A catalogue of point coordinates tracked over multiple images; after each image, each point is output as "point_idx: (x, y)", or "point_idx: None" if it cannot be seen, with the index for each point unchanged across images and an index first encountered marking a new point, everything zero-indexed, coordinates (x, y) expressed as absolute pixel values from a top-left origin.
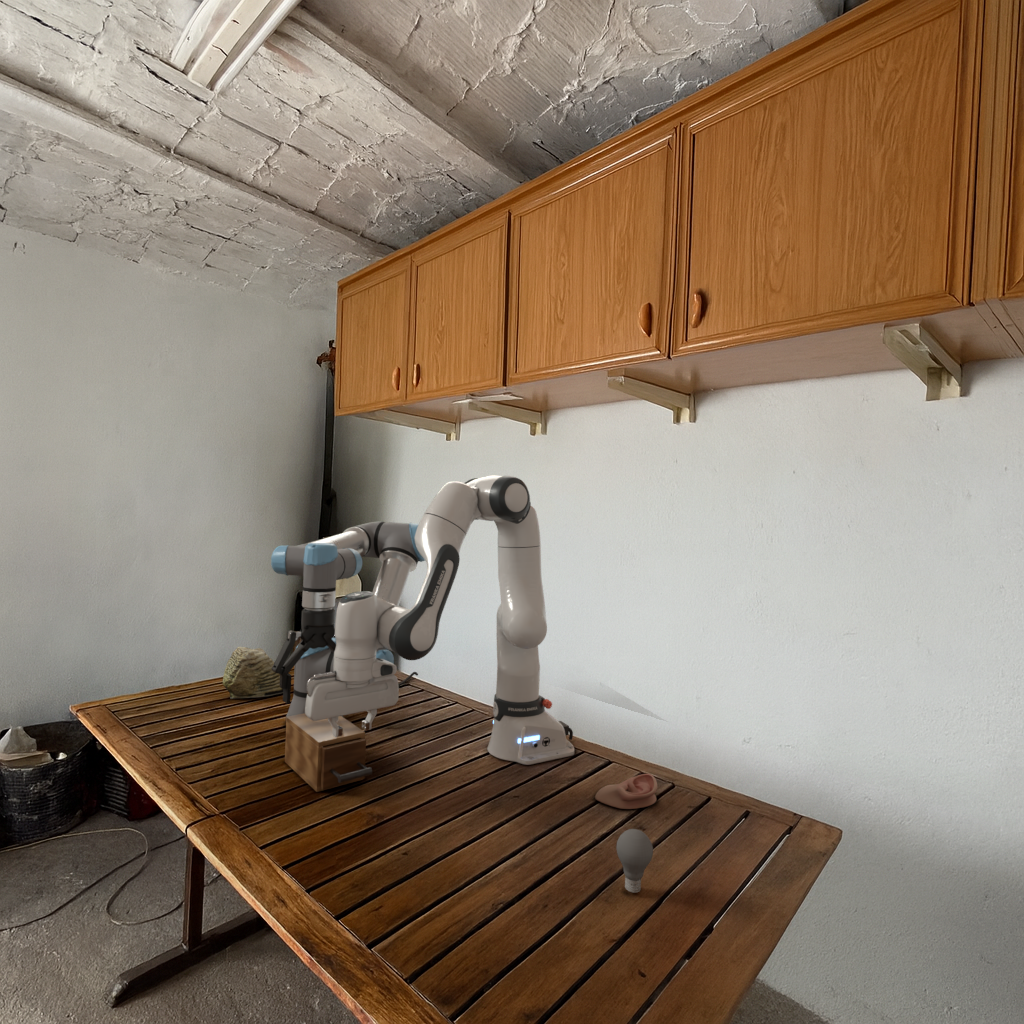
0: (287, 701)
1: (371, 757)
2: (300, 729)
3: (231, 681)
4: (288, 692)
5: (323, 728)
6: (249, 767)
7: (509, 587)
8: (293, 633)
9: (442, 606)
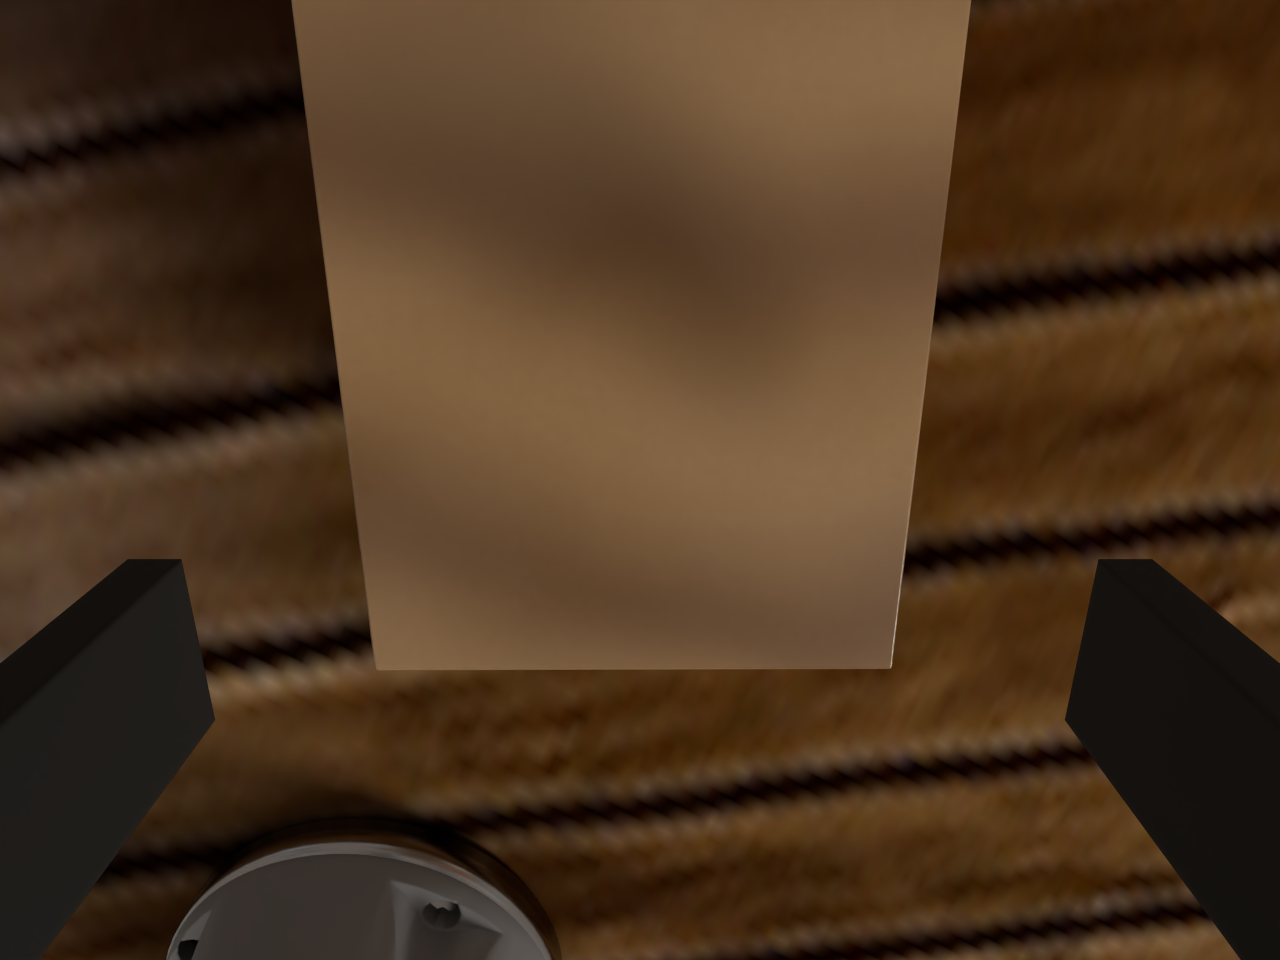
0: (1167, 576)
1: (196, 202)
2: (937, 240)
3: None
4: (1254, 662)
5: (711, 56)
6: (1024, 527)
7: None
8: None
9: None
